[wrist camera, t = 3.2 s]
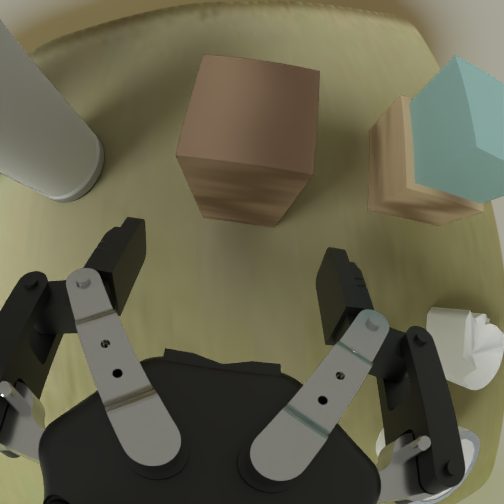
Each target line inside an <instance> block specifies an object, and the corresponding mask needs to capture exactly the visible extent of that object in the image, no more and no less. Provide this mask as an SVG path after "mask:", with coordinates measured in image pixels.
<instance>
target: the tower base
mask: <svg viewBox="0 0 504 504" xmlns="http://www.w3.org/2000/svg"><path fill="white" fill-rule="evenodd" d="M412 100H413V99H411V98H409V97H406V96H403V95H400V96H399V97H398V98H397V99H396V101H395V102H394V103H393V104H392V105H391V106H390V107H389V109H388V110H387V111H386V112H385V113H384V114H383V115H382V117H381V118H380V119H379V120H378V121H377V122H376V123H375V125H374V126H373V127H372V128H371V129H370V130H369V192H368V210H371V211H376V212H380V213H385V214H390V215H394V216H399V217H403V218H407V219H412V220H416V221H420V222H424V223H428V224H432V225H436V226H440V225H443V224H446V223H449V222H453V221H456V220H459V219H462V218H466V217H469V216H472V215H475V214H478V213H482V212H484V207H483V203H482V204H478V203H476V202H473V201H470V200H467V199H464V198H461V197H458V196H455V195H452V194H449V193H446V192H443V191H440V190H436V189H433V188H430V187H426V186H423V185H420V184H416V183H415V173H414V152H413V137H412V125H411V115H410V106H409V103H410V102H411V101H412Z"/></svg>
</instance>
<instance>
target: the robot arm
mask: <svg viewBox="0 0 504 504" xmlns="http://www.w3.org/2000/svg"><path fill="white" fill-rule="evenodd" d="M145 256H146V230H145V220H144V219H139V218H132V217H127V218H126V220H125V221H124V223H123V224H122V226H121V227H114V228H112V229H111V230H110V231H108V232H107V233H106V234H105V235H104V237H103V238H102V240H101V242H100V243H99V244H98V246H97V248H96V249H95V250H94V252H93V254H92V255H91V257H90V258H89V260H88V261H87V263H86V264H85V266H84V268H81V269H78V270H76V271H74V272H72V273H71V274H70V275H69V276H68V278H67V280H63V281H49V282H48V279H47V277H46V275H45V274H44V273H42V272H38V271H34V272H30V273H27V274H25V275H24V276H23V277H21V278H20V280H19V281H18V283H17V284H16V286H15V287H14V289H13V291H12V292H11V294H10V296H9V297H8V299H7V301H6V302H5V304H4V306H3V308H2V309H1V311H0V452H1V453H3V454H5V455H6V456H8V457H11V458H17V457H19V456H22V457H24V458H26V459H29V460H31V461H33V462H36V463H38V464H40V466H41V470H42V475H43V481H44V501H43V504H382V503H389V502H395V503H397V504H408V503H412V502H415V501H420V500H423V499H426V498H429V497H432V496H434V495H437V494H439V493H441V492H442V491H445V490H447V489H449V488H452V487H454V486H456V485H458V484H459V483H460V482H461V481H462V479H463V477H464V474H465V461H464V455H463V450H462V444H461V439H460V434H459V430H458V425H457V421H456V416H455V412H454V408H453V404H452V400H451V396H450V392H449V389H448V385H447V381H446V378H445V374H444V371H443V368H442V364H441V361H440V358H439V355H438V352H437V349H436V346H435V343H434V340H433V337H432V336H431V334H430V333H429V332H428V331H427V330H425V329H424V328H422V327H419V326H412V327H410V328H409V329H408V330H407V331H406V333H404V332H401V331H398V330H396V329H393V328H390V327H389V323H388V321H387V320H386V318H385V317H384V316H383V315H382V314H380V313H379V312H377V311H374V308H373V305H372V302H371V299H370V296H369V293H368V290H367V288H366V284H365V281H364V278H363V275H362V273H361V270H360V269H359V268H358V267H357V265H356V264H355V263H354V262H349V259H348V256H347V253H346V251H345V250H343V249H337V248H331V247H329V248H328V249H327V250H326V253H325V255H324V258H323V261H322V263H321V266H320V268H319V271H318V274H317V278H316V290H317V296H318V302H319V308H320V314H321V320H322V326H323V333H324V339H325V345H334V347H333V348H332V350H331V351H330V352H329V354H328V355H327V356H326V358H325V359H324V360H323V362H322V363H321V364H320V365H319V367H318V368H317V369H316V370H315V372H314V373H313V374H312V375H311V377H310V378H309V379H308V380H307V382H306V383H305V384H304V385H303V384H302V383H300V382H299V381H297V380H296V379H294V378H292V377H291V376H288V375H286V374H284V373H281V366H280V364H273V363H263V362H254V361H251V362H242V363H231V364H220V363H218V362H215V361H212V360H210V359H207V358H204V357H202V356H199V355H197V354H194V353H189V352H183V351H177V350H172V349H166V348H165V352H164V356H162V357H153V358H149V359H145V360H143V361H140V362H139V360H138V358H137V356H136V354H135V352H134V350H133V348H132V346H131V344H130V341H129V339H128V337H127V335H126V333H125V331H124V328H123V326H122V324H121V322H120V319H119V317H118V316H121V313H122V311H123V308H124V306H125V304H126V301H127V299H128V297H129V294H130V292H131V290H132V287H133V285H134V283H135V280H136V278H137V276H138V274H139V272H140V269H141V267H142V265H143V263H144V260H145ZM64 333H78V335H79V338H80V341H81V345H82V348H83V351H84V354H85V357H86V360H87V363H88V365H89V368H90V371H91V374H92V376H93V379H94V382H95V384H96V387H97V389H98V390H97V391H96V392H95V393H93V394H92V395H90V396H89V397H87V398H86V399H85V400H83V401H82V402H80V403H79V404H77V405H76V406H74V407H73V408H72V409H70V410H69V411H67V412H66V413H64V414H63V415H61V416H60V417H58V418H57V419H56V420H54V421H53V422H51V423H50V424H49V425H48V426H47V427H46V428H45V423H44V421H45V409H44V406H43V405H42V403H41V402H40V401H39V400H40V397H41V393H42V390H43V387H44V384H45V382H46V379H47V376H48V373H49V370H50V367H51V365H52V362H53V359H54V357H55V354H56V351H57V349H58V346H59V344H60V341H61V339H62V336H63V334H64ZM367 374H370V375H373V376H376V378H377V384H378V391H379V397H380V404H381V412H382V419H383V427H384V436H385V445H386V446H385V447H384V448H383V449H382V450H381V452H380V453H379V456H378V463H377V468H376V466H375V464H374V463H373V462H372V461H371V460H370V458H369V457H368V456H367V455H366V454H365V453H364V452H363V451H362V450H361V449H360V448H359V447H358V446H357V444H356V443H355V442H354V441H353V440H352V439H351V438H350V437H349V436H348V435H347V433H346V432H345V431H344V430H343V429H342V428H341V427H340V426H339V424H338V423H337V422H338V421H339V419H340V418H341V416H342V415H343V413H344V412H345V410H346V409H347V407H348V405H349V404H350V402H351V401H352V399H353V397H354V396H355V394H356V393H357V391H358V389H359V388H360V386H361V384H362V383H363V381H364V379H365V378H366V376H367ZM408 377H409V378H408Z"/></svg>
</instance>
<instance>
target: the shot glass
mask: <svg viewBox="0 0 504 504" xmlns="http://www.w3.org/2000/svg"><path fill="white" fill-rule="evenodd" d="M458 430H459V434H460V439H461V444H462V450H463V455H464V461H465V474H464V477H463V479H462V481H461V482H460V483H459V484H458V485H456V486H454V487H452V488H449V489H447V490H445V491H442V492H441V493H439V494H437V495H434V496H432V497H429V498H426V499H423V500H420V501H415V502H412V503H409V504H435V503H437V502H438V501H440V500H442V499H444V498H446V497H447V496H448V495H450V494H451V493H452V492H453V491H454V490H455V489H457V488H458V487H459V486H460V485H461V484H462V482H463V481H464V480H465V479H466V477H467V476H468V475H469V473H470V472H471V470H472V468H473V466H474V464H475V462H476V460H477V458H478V453H479V448H480V442H479V439H478V435H477V434H475V433H473V432H472V431H470V430H468V429H465V428H462V427H460V426H458ZM385 446H386V445H385V436H384V428H383V429H382V430H381V432H380V434H379V436H378V439H377V441H376V453H377V455H378V456H379V453H380V452H381V450H382V449H383V448H384V447H385Z"/></svg>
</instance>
